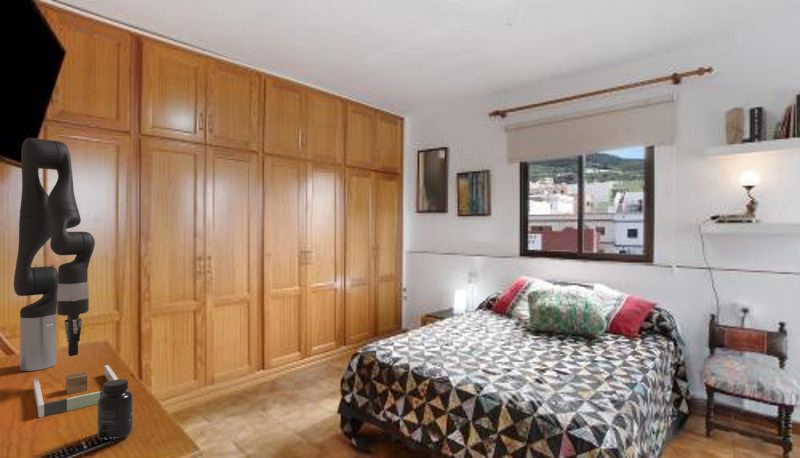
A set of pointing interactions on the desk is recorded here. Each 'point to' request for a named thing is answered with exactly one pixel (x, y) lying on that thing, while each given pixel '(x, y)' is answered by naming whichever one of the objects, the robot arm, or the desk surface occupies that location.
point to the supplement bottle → (115, 410)
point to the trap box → (61, 405)
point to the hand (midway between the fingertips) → (73, 355)
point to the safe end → (82, 401)
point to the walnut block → (76, 382)
